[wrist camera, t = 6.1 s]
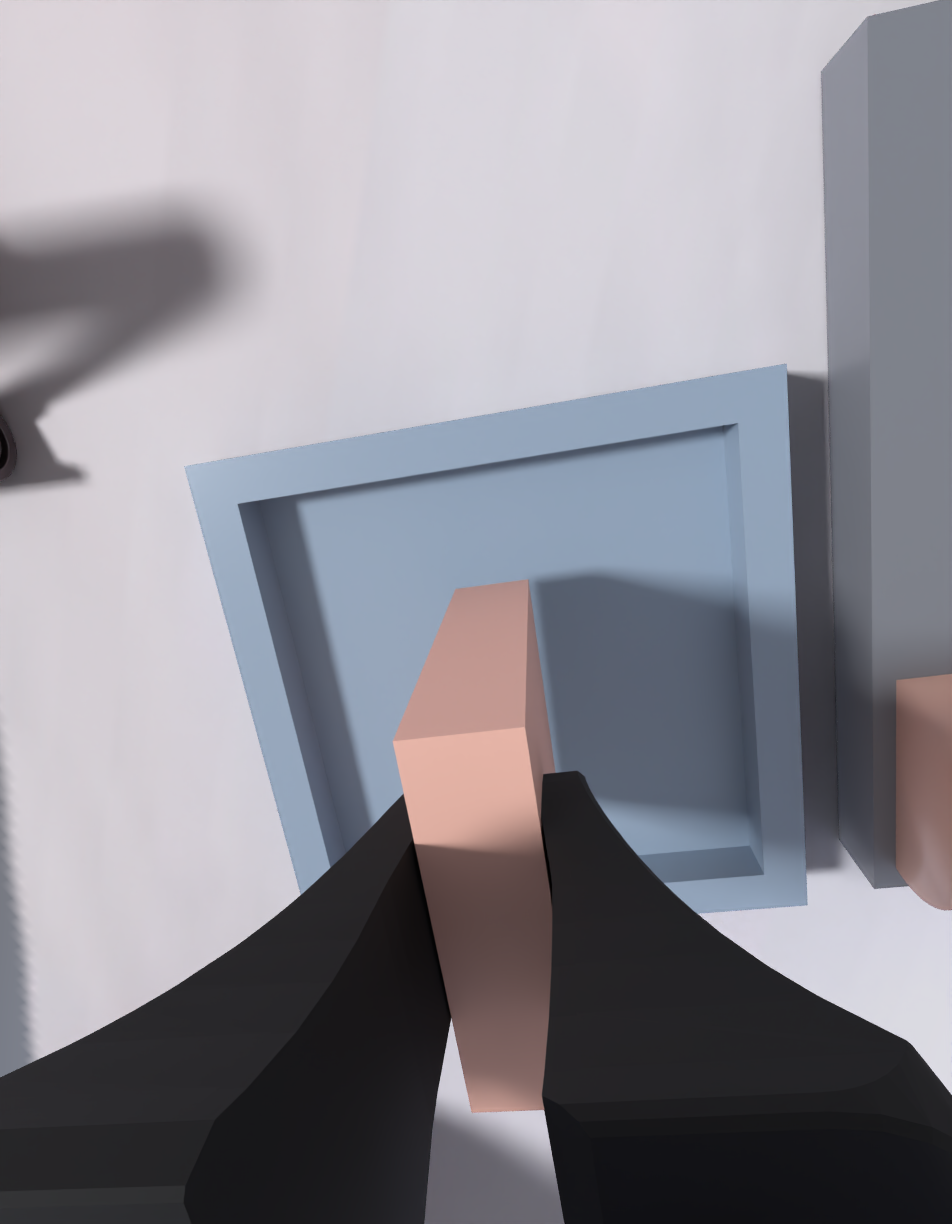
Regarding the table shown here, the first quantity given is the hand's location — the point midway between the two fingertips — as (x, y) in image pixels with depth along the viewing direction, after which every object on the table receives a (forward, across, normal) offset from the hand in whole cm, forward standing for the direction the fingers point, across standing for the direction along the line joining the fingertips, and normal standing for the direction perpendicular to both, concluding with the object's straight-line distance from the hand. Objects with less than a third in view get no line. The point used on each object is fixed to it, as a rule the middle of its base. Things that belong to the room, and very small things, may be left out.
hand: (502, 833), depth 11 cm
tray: (+7, 0, 0) cm, 7 cm away
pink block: (+5, 0, 0) cm, 5 cm away
